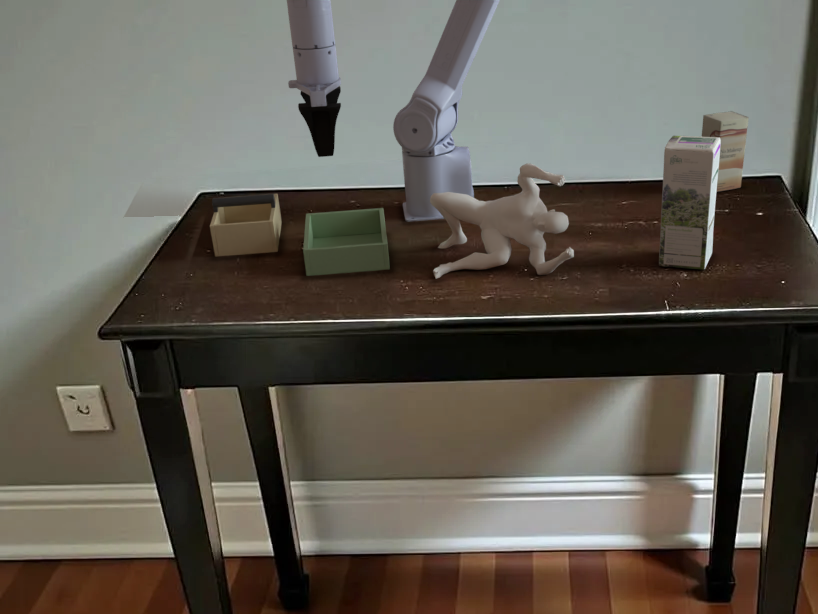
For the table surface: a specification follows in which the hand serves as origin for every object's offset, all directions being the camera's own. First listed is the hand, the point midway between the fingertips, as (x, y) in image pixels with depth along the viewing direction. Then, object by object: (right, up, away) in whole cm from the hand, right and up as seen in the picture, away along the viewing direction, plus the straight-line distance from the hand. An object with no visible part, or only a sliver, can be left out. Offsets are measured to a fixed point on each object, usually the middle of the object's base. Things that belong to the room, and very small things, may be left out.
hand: (326, 148), depth 149 cm
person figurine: (+24, -20, -18) cm, 36 cm away
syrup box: (+47, -20, -19) cm, 54 cm away
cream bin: (-9, -14, -7) cm, 18 cm away
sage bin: (+5, -18, -13) cm, 22 cm away
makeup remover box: (+56, -4, +5) cm, 57 cm away
